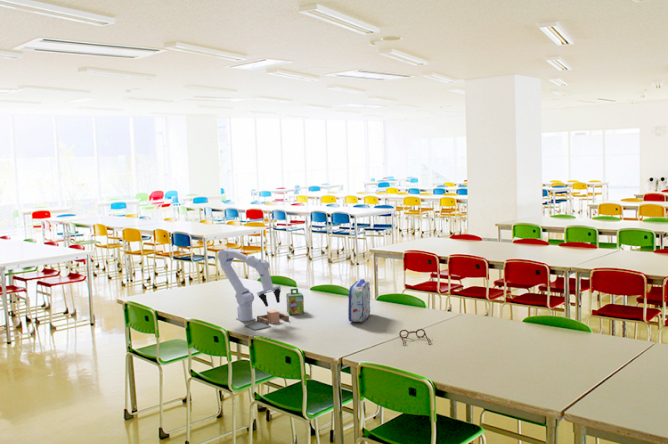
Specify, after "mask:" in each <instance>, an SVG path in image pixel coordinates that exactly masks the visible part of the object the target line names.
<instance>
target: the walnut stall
mask: <svg viewBox="0 0 668 444" xmlns="http://www.w3.org/2000/svg"><path fill="white" fill-rule="evenodd" d="M279 320H283V321H285V322H289V321H290V315H287V314H285V313H283V312H280V311H279ZM257 322H262V323H264V324H266V325H269V326H270V322H269V320H267V314H263V315H257V316H256V323H257Z"/></svg>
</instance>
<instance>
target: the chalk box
mask: <svg viewBox="0 0 668 444" xmlns="http://www.w3.org/2000/svg"><path fill="white" fill-rule="evenodd" d="M294 291H295V292H294ZM285 297H286V312H287V314H288V316H291V315H292V316H294V315H304V314H305V307H304V305H305V303H304V295H303V293H302V292H299V289H298V288H297V287H296V288H290V292H288V293H286V296H285Z"/></svg>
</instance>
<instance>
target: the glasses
mask: <svg viewBox="0 0 668 444" xmlns="http://www.w3.org/2000/svg"><path fill="white" fill-rule="evenodd" d="M419 331H422V332H423V335H418V332H419ZM402 332H406V333H407V334H406V336H402ZM398 333H399V337H400V339H401V340H402V341H401V342H402V345H403V346H405V341H404V339H407V338H408V337H409V334H414V333H415V335H416V337H417V338H419V339H420V337H422V338H424V337H425V339H426V340H427V342H428V345H429V346H430V345H431V344H430V341H429V338H428V335H427V333H426V331H425V330H424V329H423V328H419V329H417V330H416V331H413V330H411V331H408V330H407V329H402V330H400V331H399V332H398Z"/></svg>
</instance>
